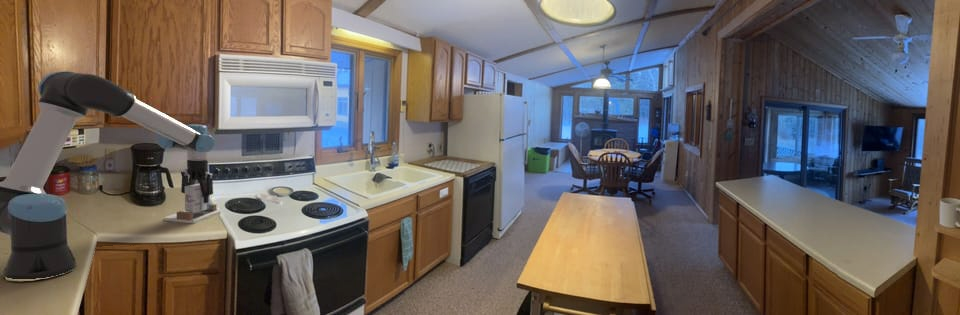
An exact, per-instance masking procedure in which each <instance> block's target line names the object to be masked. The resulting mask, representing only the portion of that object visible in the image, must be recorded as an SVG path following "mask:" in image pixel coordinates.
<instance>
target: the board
mask: <svg viewBox="0 0 960 315" xmlns="http://www.w3.org/2000/svg"><path fill="white" fill-rule="evenodd" d="M219 213H220V214H221V210H217V204H216V203H210V208H209V209H206V210H203V211H198V212H194V213H193V212H187V211H185V210H182V211H176V213H173V214H170V215H167V216H164V217H163V218H162V220H163V221H166V222H167V221H168V222H175V223H185V224H186V223H187V224H196V223H199V222H202V221H205V220H207V219H210V218H212V217H215V216H217V215H220V214H219ZM209 217H210V218H209ZM206 218H207V219H206ZM204 219H205V220H204Z"/></svg>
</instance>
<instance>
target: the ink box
mask: <svg viewBox="0 0 960 315" xmlns="http://www.w3.org/2000/svg"><path fill="white" fill-rule="evenodd" d="M201 196H203V194H202V190H201V187H200V183H195V184H194V185H189V186H185V193H184V211H187V212H193V213H194V212H198V211H201ZM210 197H211V195H209V197H208V203H207V209H209V208H210V204H211V203H210Z"/></svg>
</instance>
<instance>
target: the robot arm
mask: <svg viewBox="0 0 960 315" xmlns="http://www.w3.org/2000/svg"><path fill="white" fill-rule="evenodd" d="M37 89H38V93H39V96H40V98H39V100H38V102H37V104H38V107H40V109H41V111H40V112H39V115H38V116H37V118H36V121H35V122H34V123H33V125H32V128H31V130H30V132H29V134H28V135H27V137H26V139H25V141H24V143H23V145H22V147H21V149H20V150H19V152H18V155H17V157H16V158H15V160H14V162H13V164H12V166H11V167H10V170H9V172H8V174H7V175H6V178H5V179H4V180H3V181H0V233H3V234H7V235H9V236H10V246H11V247H10V249H11V251H10V255H9V257H8V259H7V260H8V261H7V263H6V266H5V268H4V270H3V277H4V276H5V277H7V278H12V279H36V278H46V277H51V276H56V275H59V274H62V273H66V272H68V271H70V270H72V269H74V268H75V267H76V268H77V261H76V258H75V257H74V255H73V254H74V253H73V252H72V250H71V249H70V247H69V244H68V229H67V228H68V227H67V223H68V222H67V211H68V210H67V206H66V202H65V200H64V198H62V197H61V196H59V195H56V194H51V193H47V192H46V191H45V189H44V186H45V184H46V182H47V181H48V178H49V176H50V174H51V172H52V171H53V169H54V166H55V165H56V162H57V160H58V158H59V156H60V154H61V152H62V151H63V149H64V147H65V144H66V142H67V140H68V138H69V136H70V135H71V132H72V131H73V128H74V127H75V124H76V123H77V121H78V120H81V119H84V118H85V117H86V115H87V113H88V111H89V110H93V111H97V112H102V113H105V114H109V115H110V116H113V117H115V118H120V117H122V118H125V119H127V120H128V121H131V122H132V123H135V124H137V125H139V126H142V127H144V128H145V129H147V130H149V131H152V132H154V133H155V134H157V135H156V142H157V144H158V146H159V147H160V148H162V149H168V150H169V149H170V150H171V149H180V150H186V158H187V160H186V167H187V170H184V171H183V170H182V171H181V172H180V175H181V188H180V192H181V194H185V186H189V185H194V184H196V181H197V182H198V184H200V187H201V190H202V194H203V196H201V211H203V210H206V209H207V203H208V197H209V195H210V196H212V195H213V194H214V184H213V178H214V173H210V172H208V170H207V168H208V153H209V152H211V151H212V150H213V149H214V147H215V143H216V142H215V138H214V137H213V136H212V135H210V134H208V127H207V125H204V124H196V123H195V124H187V125H186V124H184V123H182V122H181V121H178V120H177V119H175V118H173V117H171V116H169V115H167V114H165V113H164V112H162V111H160V110H158V109H156V108H155V107H152V106H150V105H148V104H146V103H145V102H143V101H141V100H140V99H137V98H136V95H135V94H134V93H132V92H130V91H129V90H127V89H125V88H123V87H122V86H120V85H117V84H116V83H114V82H112V81H111V80H109V79H106V78H104V77H102V76H100V75H96V74H91V73H81V72H73V71H56V72H51V73H48V74H47V75H46V76H44V77H43V78H42V79H41V80H40V81H39V83H38V87H37ZM76 268H75V269H76ZM75 269H74V270H75Z"/></svg>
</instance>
